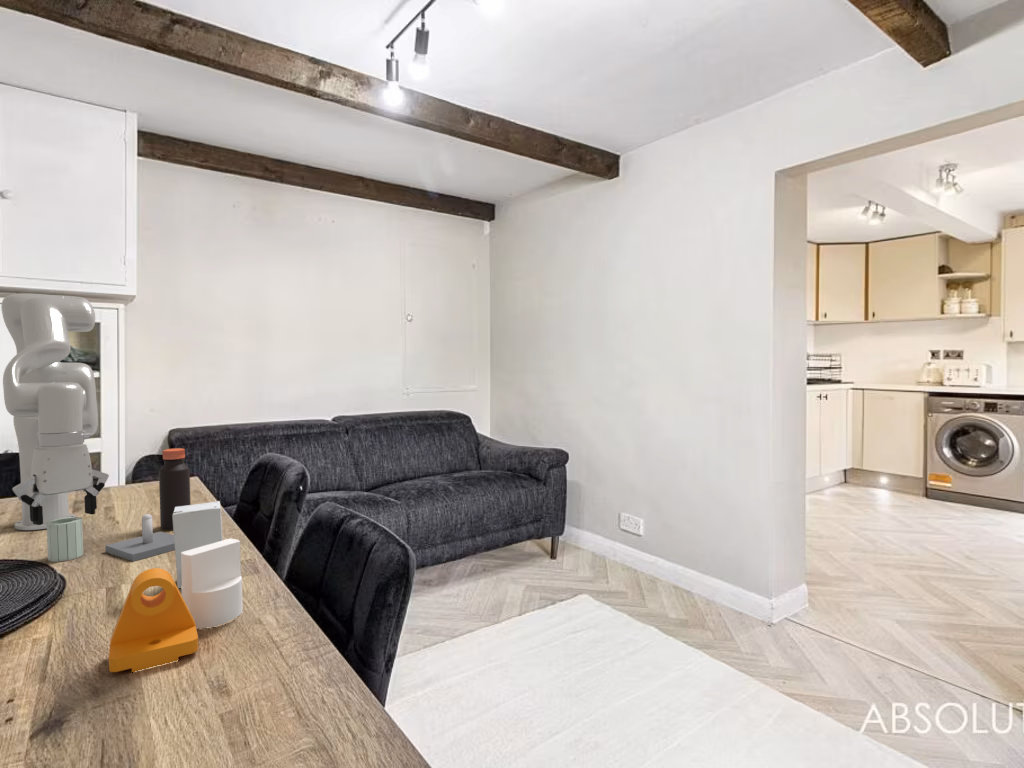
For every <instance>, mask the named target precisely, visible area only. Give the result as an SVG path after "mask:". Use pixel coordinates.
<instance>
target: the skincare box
mask: <svg viewBox="0 0 1024 768" xmlns="http://www.w3.org/2000/svg"><path fill="white" fill-rule="evenodd" d="M172 518H173V530H172V531H173V535H174V544H175V550H174V554H175V558H174V559H175V568H176V582H177V584H176V586H177V587H178V589H179V588H181V587H182V572H181V552H184V551H187V550H191V549H194V548H198V547H201V546H205V545H209V544H212V543H216V542H219V541H223V540H224V539H223V519H222V518H223V517H222V508H221V501H220V500H218V501H211V502H205V503H204V502H203V503H197V504H191V505H187V506H179V507H175V509H174V512H173V515H172ZM179 590H180V589H179Z"/></svg>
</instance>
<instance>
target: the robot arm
mask: <svg viewBox="0 0 1024 768" xmlns="http://www.w3.org/2000/svg"><path fill="white" fill-rule="evenodd" d="M1 313H2V318H3V321H4V324H5V325H4V326H6V329H7V331H8V333H9V335H10V336H11V338H12V341H13V342H14V345H15V350H16V355H14V356H13V357H12V358H11V360H10V361H9V362H8V363H7V365H6V366H5V368H4V372H3V377H2V386H3V387H2V388H3V397H4V398H3V400H4V405H5V409H6V411H7V413H9V415H11V416H13V420H12V421H13V427H14V431H15V434H16V435H15V436H16V440H17V445H18V456H19V472H20V474H19V475H20V483H19V484H16V485H15V486H13V487H12V489H11V490H12V492H13V493H14V494H15V496H16V497H17V498H18V500H19V501H21V517H22V518H21V519H20V520H18V521H16V522H15V523H14V529H16V530H19V531H39V530H47V522H49V521H52V520H55V519H60V518H67V517H77V515H76V514H75V513H70V512H69V511H70V510H69V493H73V492H78V491H83V492H85V494H86V495H84V498H83V499H84V513H85V514H87V515H95V514H96V510H97V509H98V506H97V505H98V504H97V496H99V493H100V492H101V491H102V490H103V489H104V487H105V485H106V483H107V481H108V479H109V477H110V475H109V473H105V472H102V471H99V470H96V469H93V467H92V461H91V457H90V452H89V451H90V450H89V448H88V445H87V444H85V441H86V440H88V439H90V438H91V436H93V435H95V434H96V433H97V431H98V427H99V413H98V401H97V389H96V388H97V387H96V380H95V379H96V378H95V375H94V371H93V369H92V368H91V366H90V365H88V364H86V363H85V362H84V363H83V362H61V361H63V360H64V359H66V358H67V357H68V356H69V355H70V353H71V342H70V338H69V337H70V336H69V332H71V333H74V332H75V333H88V332H91V331H92V330H94V327H95V324H96V312H95V310H94V307H93V305H92V303H91V302H90V301H89V300H88V299H86V298H85V297H82V296H73V295H61V294H59V295H58V294H44V293H28V292H27V293H12V294H9V295H7V296H5V297H4V298H3V299H2V302H1ZM94 477H97V479H98V480H97V482H96V483H95V484H94ZM93 484H94V485H93Z"/></svg>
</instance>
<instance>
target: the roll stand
mask: <svg viewBox="0 0 1024 768" xmlns="http://www.w3.org/2000/svg"><path fill="white" fill-rule="evenodd" d="M141 529H142V530H141V532H142V536H137V537H134V538H129V539H125V540H121V541H118V542H113V543H109V544H106V545H105V550H104V551H105V553H107V554H111V555H113V556H117V557H119V558H122V559H125V560H128V561H131V562H137V561H140V560H143V559H147V558H151V557H154V556H157V555H161V554H165V553H168V552H172V551H175V544H174V534H171V533H167V532H164V531H157V532H153V531H154V530H153V516H152V515H151V514H149V513H145V514H144V515H142V516H141Z"/></svg>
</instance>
